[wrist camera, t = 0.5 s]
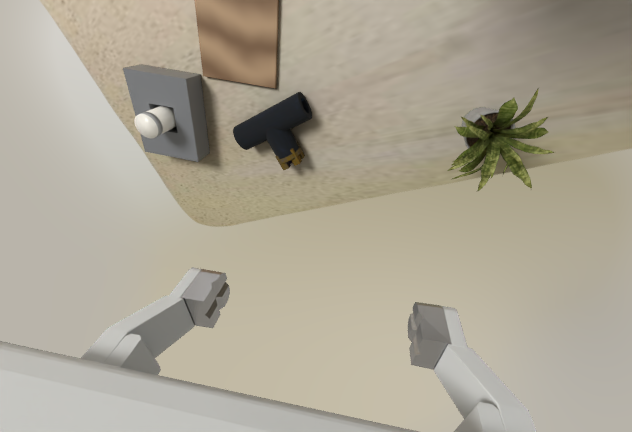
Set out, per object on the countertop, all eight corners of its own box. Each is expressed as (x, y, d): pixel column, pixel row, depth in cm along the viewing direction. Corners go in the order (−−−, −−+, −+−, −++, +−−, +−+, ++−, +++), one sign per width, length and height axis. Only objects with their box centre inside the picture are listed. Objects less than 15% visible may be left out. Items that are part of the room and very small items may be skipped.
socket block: (142, 64, 53) (122, 67, 49) (200, 74, 52) (185, 78, 48) (160, 143, 63) (145, 151, 59) (209, 152, 62) (198, 161, 58)
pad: (194, -22, 44) (192, -22, 43) (279, -9, 43) (277, -10, 42) (205, 75, 52) (203, 76, 51) (276, 87, 51) (275, 88, 50)
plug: (166, 98, 56) (131, 111, 48) (186, 102, 56) (155, 116, 48) (170, 120, 59) (138, 136, 51) (190, 124, 59) (160, 140, 51)
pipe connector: (324, 154, 52) (261, 180, 58) (328, 144, 56) (269, 170, 62) (294, 95, 47) (229, 130, 53) (302, 89, 51) (240, 122, 57)
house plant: (439, 73, 45) (464, 95, 32) (535, 65, 42) (605, 84, 29) (428, 155, 53) (445, 199, 40) (508, 152, 50) (554, 199, 37)
